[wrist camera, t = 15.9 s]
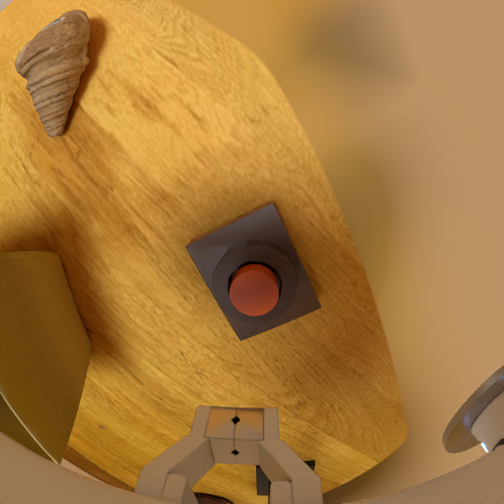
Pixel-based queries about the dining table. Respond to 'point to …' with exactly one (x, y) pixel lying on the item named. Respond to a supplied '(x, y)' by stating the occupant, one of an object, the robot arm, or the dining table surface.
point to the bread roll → (209, 499)
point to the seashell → (56, 67)
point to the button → (254, 290)
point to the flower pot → (39, 353)
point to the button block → (254, 252)
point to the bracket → (265, 483)
